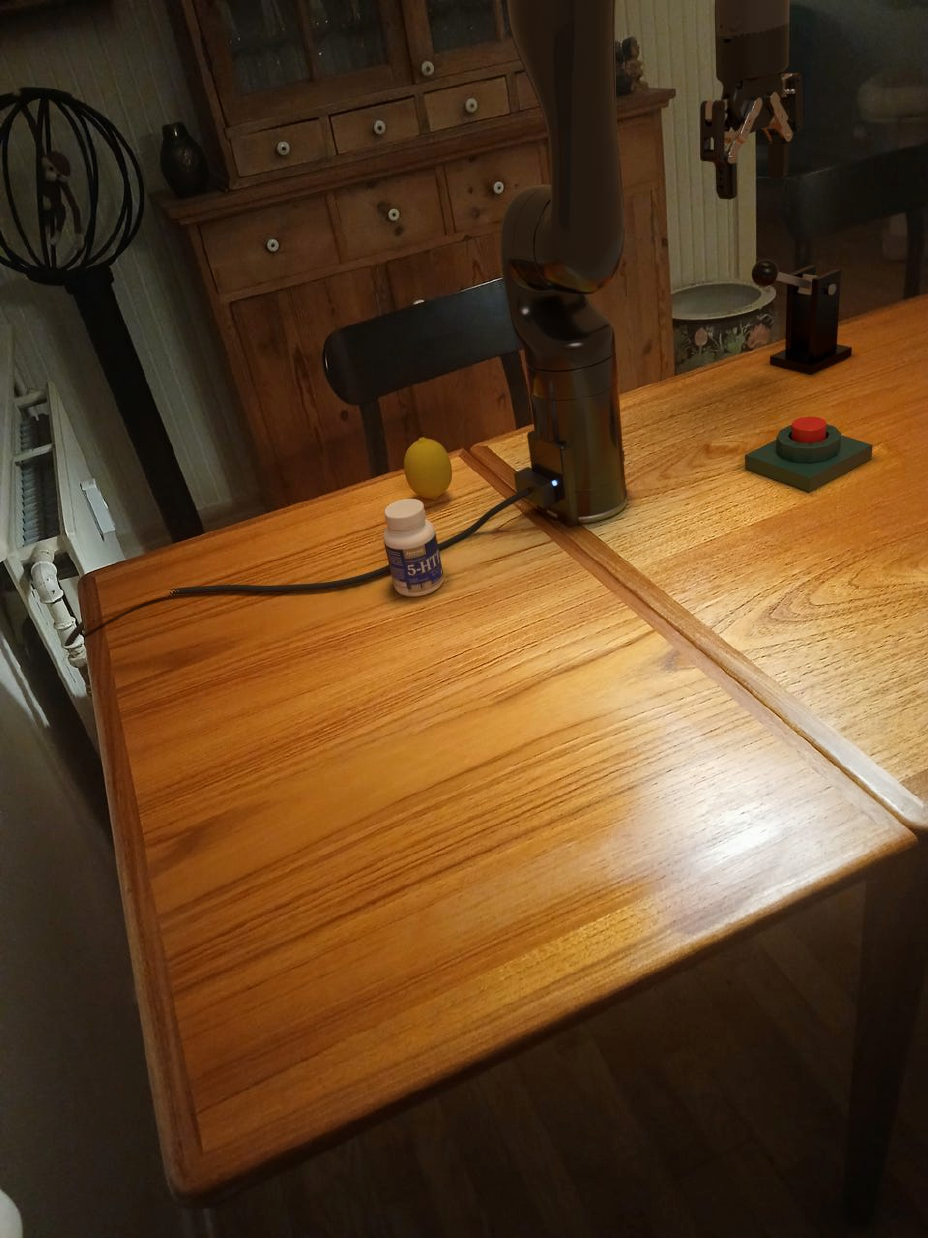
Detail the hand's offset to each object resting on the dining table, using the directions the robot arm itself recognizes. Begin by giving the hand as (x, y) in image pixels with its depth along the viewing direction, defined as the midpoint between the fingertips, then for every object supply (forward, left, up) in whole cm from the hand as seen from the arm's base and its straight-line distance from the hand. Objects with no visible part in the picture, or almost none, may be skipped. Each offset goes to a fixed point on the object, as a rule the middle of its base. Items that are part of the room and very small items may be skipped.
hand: (752, 187), depth 109 cm
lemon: (-44, +9, -25) cm, 51 cm away
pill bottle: (-55, -6, -25) cm, 61 cm away
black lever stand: (+13, +2, -25) cm, 28 cm away
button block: (-11, -18, -25) cm, 33 cm away
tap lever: (+8, +2, -15) cm, 17 cm away
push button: (-11, -18, -22) cm, 31 cm away
